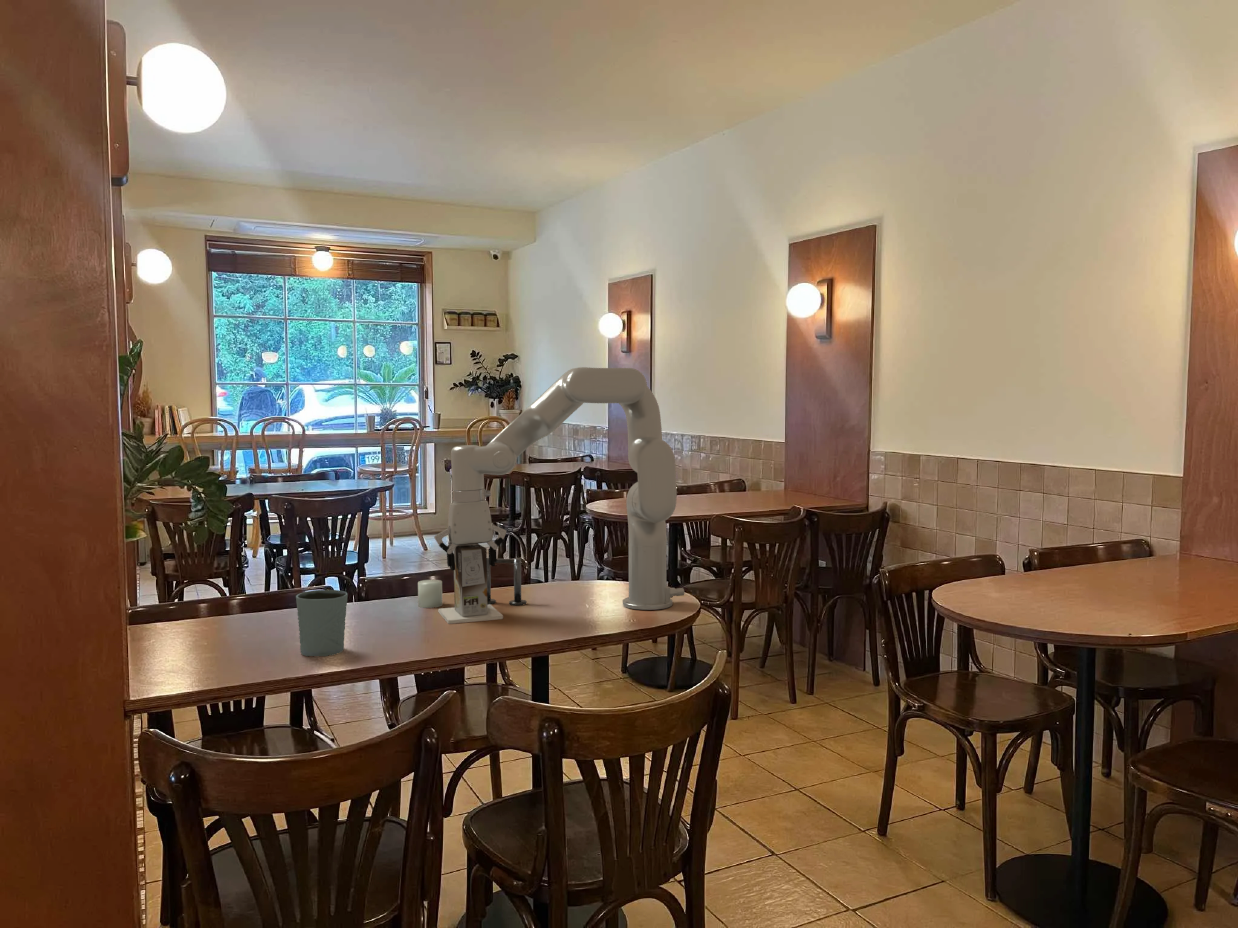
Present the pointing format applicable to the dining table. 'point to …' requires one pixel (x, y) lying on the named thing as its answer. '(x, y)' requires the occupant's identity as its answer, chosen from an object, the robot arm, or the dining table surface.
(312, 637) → the green tapered pot
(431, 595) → the pale green pillar candle
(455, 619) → the plate
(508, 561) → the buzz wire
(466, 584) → the coffee box
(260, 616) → the dining table surface
